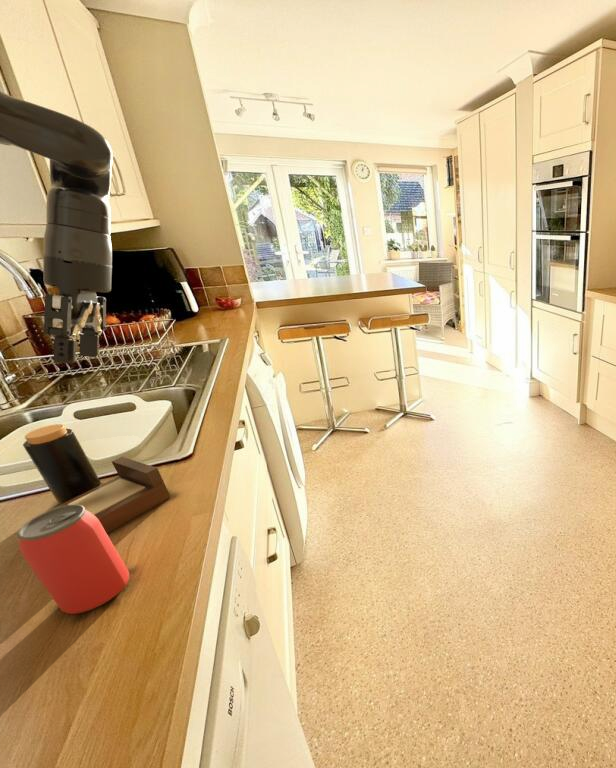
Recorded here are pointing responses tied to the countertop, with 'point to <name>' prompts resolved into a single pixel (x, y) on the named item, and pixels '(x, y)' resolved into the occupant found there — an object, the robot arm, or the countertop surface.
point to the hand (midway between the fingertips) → (77, 359)
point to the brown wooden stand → (123, 494)
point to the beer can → (73, 558)
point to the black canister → (61, 462)
